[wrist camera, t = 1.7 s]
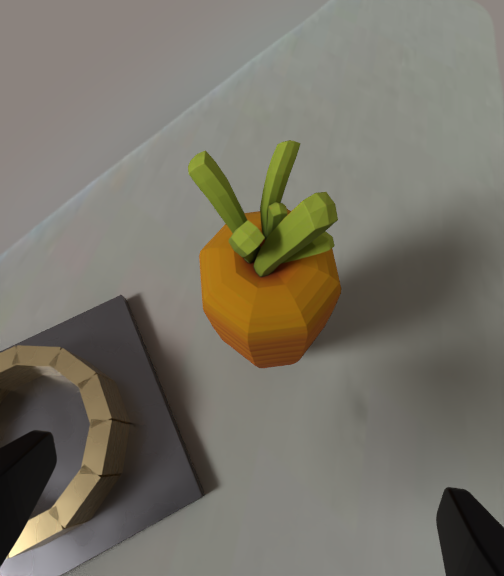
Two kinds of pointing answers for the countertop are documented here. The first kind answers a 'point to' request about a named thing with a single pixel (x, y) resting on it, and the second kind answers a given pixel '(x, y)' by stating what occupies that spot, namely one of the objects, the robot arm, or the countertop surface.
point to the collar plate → (70, 433)
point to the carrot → (267, 265)
